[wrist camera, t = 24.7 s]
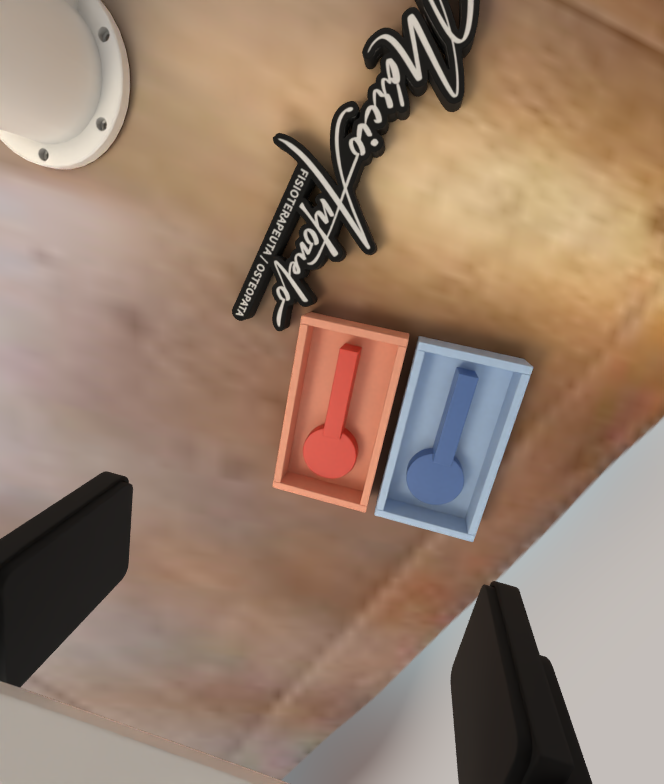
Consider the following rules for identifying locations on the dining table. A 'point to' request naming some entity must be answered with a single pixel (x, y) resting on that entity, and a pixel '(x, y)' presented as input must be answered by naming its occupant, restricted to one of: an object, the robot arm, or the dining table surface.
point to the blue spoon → (444, 447)
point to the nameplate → (356, 153)
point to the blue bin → (477, 442)
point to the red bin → (365, 411)
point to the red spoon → (335, 423)
